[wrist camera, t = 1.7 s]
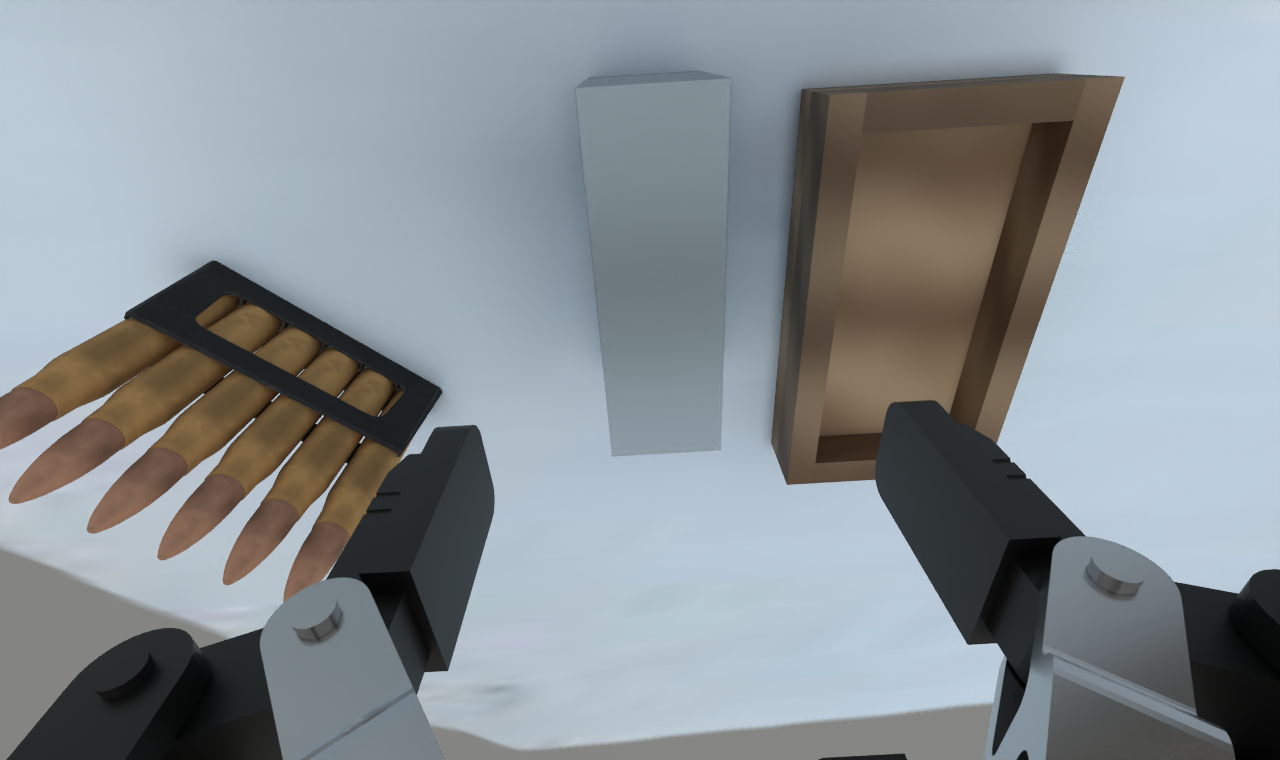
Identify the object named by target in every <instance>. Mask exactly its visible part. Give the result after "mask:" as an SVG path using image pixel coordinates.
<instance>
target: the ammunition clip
mask: <svg viewBox="0 0 1280 760" xmlns="http://www.w3.org/2000/svg"><path fill="white" fill-rule="evenodd" d="M124 319H126V320H124V321H122V322H120V323H118V324H117V325H115V326H113V327H111V328H109V329H107V330H106V331H104V332H102V333H100V334H98V335H96V336H95V337H93V338H91V339H89V340H87V341H85V342H84V343H82V344H80V345H78V346H76V347H74V348H73V349H71V350H69V351H67V352H65V353H63V354H62V355H60V356H58V357H56V358H55V359H53V360H52V361H51V362H50V363H48V364H47V365H46V366H45V367H44V368H43V369H42V370H40V371H39V372H38V373H37V374H36V375H35V376H33V377H31V378H30V379H28V380H27V381H25V382H23V383H22V384H20V385H18V386H17V387H15V388H13V389H12V391H11V392H9V393H7V394H6V395H4V396H2V397H0V449H3V448H5V447H7V446H9V445H11V444H13V443H15V442H17V441H19V440H21V439H23V438H25V437H27V436H29V435H30V434H32V433H34V432H35V431H37V430H39V429H40V428H42V427H44V426H45V425H47V424H48V423H50V422H52V421H55V420H57V419H59V418H60V417H62V416H64V415H66V414H67V413H69V412H71V411H72V410H74V409H76V408H78V407H80V406H82V405H85V404H87V403H90V402H92V401H95V400H97V399H99V398H102V397H104V396H105V395H107V394H109V393H111V392H112V391H114V390H115V389H117V388H118V387H120V386H121V385H123V384H124V383H126V382H127V381H129V380H130V381H129V382H127V383H126V384H124V385H123V386H121V387H120V388H119V389H117V390H116V391H115V392H114V393H113V395H112V396H111V397H110V398H109V399H108V400H107V401H106V402H105V403H104V404H103V406H101V407H100V408H99V409H97V410H96V411H95V412H93V413H92V414H91V415H89V416H88V417H87V418H85V419H84V420H83V421H82V422H81V423H80V424H79V425H78V426H76V427H75V428H73V429H72V430H70V431H69V432H68V433H66V434H65V435H63V436H62V437H61V438H60V439H58V440H57V441H56V442H55V443H54V444H52V445H51V446H50V447H49V448H48V449H47V450H46V451H44V452H43V453H42V454H41V455H40V456H39V457H38V458H37V459H36V460H35V461H34V462H33V463H32V464H31V465H30V467H29V468H28V469H27V470H26V471H25V472H24V474H23V475H22V476H21V477H20V478H19V480H18V481H17V483H16V484H15V486H14V487H13V489H12V491H11V493H10V496H9V502H10V503H12V504H18V503H23V502H26V501H29V500H33V499H35V498H38V497H41V496H43V495H46V494H48V493H50V492H52V491H54V490H57V489H59V488H61V487H63V486H65V485H67V484H69V483H71V482H73V481H74V480H76V479H78V478H80V477H81V476H83V475H85V474H86V473H88V472H89V471H91V470H93V469H94V468H96V467H97V466H99V465H100V464H102V463H103V462H105V461H106V460H107V459H109V458H110V457H111V456H113V455H114V454H115V453H116V452H118V451H119V450H121V449H123V448H125V447H126V446H128V445H129V444H131V443H132V442H133V441H135V440H136V439H138V438H139V437H140V436H142V435H143V434H145V433H147V432H149V431H151V430H153V429H155V428H157V427H159V426H161V425H163V424H165V423H166V422H167V421H169V420H170V419H171V418H173V417H174V416H175V415H176V414H178V413H179V412H180V411H181V410H183V409H184V408H185V407H186V406H188V405H189V404H190V403H191V402H193V401H194V400H195V399H196V398H198V397H199V396H200V395H202V394H203V393H204V394H205V395H203V396H202V397H201V398H200V399H199V400H197V401H196V402H195V403H194V404H193V405H191V406H190V407H189V408H188V409H187V410H185V411H184V412H183V413H182V414H181V415H180V416H179V417H177V419H176V420H175V421H174V422H173V424H172V425H171V426H170V427H169V429H168V430H167V431H166V433H165V434H164V435H163V436H162V437H161V438H160V439H159V440H158V441H157V442H156V443H155V444H154V445H153V446H151V447H150V448H149V449H148V450H147V452H146V453H145V454H144V455H143V456H142V457H141V458H139V459H138V460H137V461H136V462H135V463H134V464H133V465H131V466H130V467H129V468H128V469H127V470H126V471H125V472H124V474H123V475H122V476H121V477H120V478H119V479H118V480H117V481H116V482H115V483H114V484H113V486H112V487H111V488H110V489H109V490H108V492H107V493H106V494H105V496H104V497H103V498H102V500H101V501H100V503H99V504H98V506H97V507H96V509H95V510H94V512H93V514H92V516H91V518H90V520H89V523H88V526H87V531H88V532H89V533H98V532H101V531H103V530H106V529H108V528H111V527H113V526H115V525H117V524H119V523H121V522H123V521H125V520H126V519H128V518H130V517H132V516H133V515H135V514H136V513H138V512H140V511H141V510H143V509H144V508H146V507H147V506H149V505H150V504H151V503H153V502H154V501H155V500H156V499H158V498H159V497H160V496H162V495H163V494H164V493H165V492H167V491H168V490H169V489H170V488H171V487H172V486H173V485H174V484H175V483H177V482H178V481H179V480H180V479H181V478H182V477H183V476H185V475H187V474H188V473H189V472H190V471H191V470H192V469H194V468H195V467H196V466H197V465H198V464H199V463H201V462H202V461H203V460H205V459H206V458H208V457H210V456H211V455H213V454H215V453H216V452H218V451H219V450H221V449H222V448H223V447H224V446H225V445H226V444H227V443H228V442H229V441H230V440H231V439H232V438H233V437H234V436H235V435H236V434H237V433H238V432H240V431H241V430H242V429H243V428H244V427H245V426H246V425H247V424H248V423H249V422H250V421H251V420H252V419H253V418H255V420H254V421H253V422H252V423H251V424H250V425H249V426H248V427H247V428H246V429H245V430H244V431H243V432H242V433H241V434H240V435H239V436H238V437H237V438H236V440H235V441H234V442H233V443H232V444H231V445H230V446H229V447H228V449H227V450H226V452H225V454H224V455H223V457H222V459H221V460H220V462H219V464H218V465H217V466H216V467H215V468H214V469H213V471H212V472H211V473H210V474H209V475H208V476H207V477H206V478H205V481H204V482H203V483H202V484H201V485H200V486H199V487H198V488H197V489H196V491H195V492H194V493H193V494H192V495H191V496H190V497H189V498H188V500H187V501H186V502H185V503H184V505H183V506H182V507H181V509H180V510H179V511H178V513H177V514H176V515H175V517H174V518H173V520H172V522H171V523H170V525H169V527H168V529H167V531H166V532H165V534H164V536H163V538H162V541H161V543H160V547H159V550H158V559H160V560H166V559H169V558H171V557H173V556H175V555H177V554H179V553H181V552H183V551H184V550H186V549H188V548H189V547H190V546H192V545H193V544H195V543H196V542H198V541H199V540H200V539H202V538H203V537H204V536H205V535H207V534H208V533H209V532H210V531H211V530H212V529H214V528H215V527H216V526H217V525H218V524H219V523H220V522H221V521H222V520H223V519H224V518H225V517H226V516H227V515H228V514H229V513H230V512H231V511H232V510H233V509H234V508H235V507H236V505H237V504H238V503H239V502H240V501H241V500H243V499H244V498H245V497H246V496H247V495H248V494H249V493H250V492H251V490H252V489H253V488H254V487H255V486H256V485H257V484H259V483H260V482H261V481H263V480H264V479H265V478H267V477H268V476H269V475H271V474H272V473H273V472H274V471H275V470H276V469H277V468H278V467H279V466H280V464H281V463H282V462H283V461H284V460H285V458H286V457H287V456H288V455H289V454H290V453H291V451H292V450H293V449H294V448H295V447H296V446H297V444H298V443H299V442H300V441H302V442H303V443H302V444H301V445H300V447H299V448H298V449H297V450H296V451H295V453H294V454H293V455H292V456H291V458H290V459H289V460H288V461H287V463H286V464H285V465H284V466H283V468H282V469H281V470H280V472H279V474H278V476H277V478H276V480H275V482H274V485H273V487H272V488H271V490H270V491H269V493H268V494H267V495H266V497H265V498H264V500H263V501H262V502H261V505H260V507H259V508H258V509H257V510H256V512H255V513H254V514H253V516H252V517H251V518H250V520H249V521H248V522H247V524H246V525H245V527H244V529H243V530H242V532H241V534H240V535H239V537H238V538H237V540H236V542H235V544H234V546H233V548H232V550H231V553H230V555H229V558H228V560H227V563H226V566H225V570H224V575H223V583H224V584H225V585H230V584H233V583H235V582H236V581H238V580H240V579H241V578H243V577H244V576H246V575H247V574H248V573H250V572H251V571H252V570H253V569H254V568H255V567H257V566H258V565H259V564H260V563H261V562H262V561H263V560H264V559H265V558H266V557H267V556H268V555H269V554H270V553H271V552H272V551H273V550H274V549H275V548H276V547H277V546H278V545H279V544H280V542H281V541H282V540H283V539H284V538H285V537H286V535H287V534H288V533H289V531H290V530H291V528H292V527H293V526H294V524H295V523H296V522H297V521H298V520H299V519H300V518H301V517H302V515H303V514H304V513H305V511H306V510H307V509H308V508H309V506H310V505H311V504H312V503H313V502H314V501H315V500H317V499H318V498H319V497H320V496H321V495H322V494H323V493H324V492H325V491H326V489H327V488H328V487H329V485H330V484H331V482H332V481H333V480H334V478H335V477H336V475H337V474H338V472H339V471H340V469H341V468H342V466H343V465H344V464H345V463H348V464H347V466H346V467H345V469H344V470H343V472H342V473H341V475H340V476H339V478H338V479H337V481H336V482H335V484H334V485H333V487H332V488H331V490H330V492H329V493H328V496H327V498H326V501H325V504H324V507H323V510H322V512H321V513H320V515H319V517H318V519H317V520H316V522H315V524H314V525H313V528H312V530H311V532H310V534H309V535H308V537H307V538H306V540H305V542H304V543H303V545H302V547H301V549H300V551H299V553H298V555H297V557H296V559H295V561H294V563H293V566H292V568H291V571H290V574H289V577H288V580H287V584H286V587H285V592H284V601H283V602H285V601H287V600H288V599H289V598H290V597H292V596H293V595H295V594H296V593H298V592H299V591H301V590H303V589H305V588H306V587H308V586H311V585H313V584H315V583H318V582H320V581H321V580H322V579H323V578H324V577H325V575H326V574H327V573H328V571H329V570H330V569H331V567H332V566H333V565H334V563H335V562H336V560H337V559H338V557H339V556H340V554H341V552H342V551H343V549H344V547H345V546H346V544H347V543H348V541H349V539H350V537H351V536H352V534H353V532H354V531H355V529H356V527H357V525H358V524H359V522H360V520H361V518H362V517H363V515H366V513H367V512H366V510H367V508H368V506H369V505H370V503H371V501H372V499H373V498H374V497H376V492H377V491H378V489H379V487H380V486H381V484H382V482H383V480H384V479H385V477H386V475H387V473H388V472H389V471H390V470H392V469H393V468H394V467H395V466H396V465H397V464H398V463H399V462H400V460H401V458H402V456H403V455H404V453H405V451H406V449H407V448H408V446H409V444H410V442H411V440H412V439H413V437H414V435H415V434H416V432H417V431H418V429H419V427H420V426H421V424H422V423H423V421H424V420H425V418H426V417H427V415H428V414H429V412H430V411H431V409H432V408H433V406H434V405H435V403H436V401H437V400H438V398H439V397H440V395H441V394H442V391H441V389H440V388H439V387H438V386H436V385H434V384H432V383H430V382H429V381H427V380H425V379H423V378H422V377H420V376H418V375H416V374H415V373H413V372H411V371H409V370H408V369H406V368H404V367H402V366H401V365H399V364H397V363H395V362H393V361H392V360H390V359H388V358H386V357H385V356H383V355H381V354H379V353H378V352H376V351H374V350H372V349H371V348H369V347H367V346H365V345H363V344H362V343H360V342H358V341H356V340H355V339H353V338H351V337H349V336H348V335H346V334H344V333H342V332H341V331H339V330H337V329H335V328H333V327H332V326H330V325H328V324H326V323H325V322H323V321H321V320H319V319H318V318H316V317H314V316H312V315H311V314H309V313H307V312H305V311H303V310H302V309H300V308H298V307H296V306H295V305H293V304H291V303H289V302H288V301H286V300H284V299H282V298H281V297H279V296H277V295H275V294H273V293H272V292H270V291H268V290H266V289H265V288H263V287H261V286H259V285H258V284H256V283H254V282H252V281H251V280H249V279H247V278H245V277H243V276H242V275H240V274H238V273H236V272H235V271H233V270H231V269H229V268H228V267H226V266H224V265H222V264H221V263H219V262H217V261H211V262H209V263H207V264H206V265H204V266H202V267H201V268H199V269H197V270H196V271H194V272H192V273H191V274H189V275H187V276H186V277H184V278H182V279H181V280H179V281H177V282H176V283H174V284H172V285H171V286H169V287H167V288H165V289H164V290H162V291H160V292H159V293H157V294H155V295H154V296H152V297H150V298H149V299H147V300H145V301H144V302H142V303H140V304H139V305H137V306H135V307H134V308H132V309H130V310H129V311H127V312H126V313H125V316H124ZM261 347H262V348H261ZM259 348H260V349H259ZM258 349H259V350H258ZM257 350H258V351H257ZM256 351H257V352H256ZM254 352H255V353H254ZM253 353H254V354H253ZM147 368H148V369H147ZM303 369H305V370H304V371H303V372H302V373H301V374H300V375H299V376H298V377H296V376H297V375H298V374H299V373H300V372H301V371H302V370H303ZM144 370H145V371H144ZM232 370H234V371H232ZM230 371H232V372H231V373H230V374H229V375H228V376H226V377H225V378H223V377H224V376H225V375H227V374H228V373H229V372H230ZM141 372H142V373H141ZM138 374H139V375H138ZM137 375H138V376H137ZM135 376H136V377H135ZM134 377H135V378H134ZM132 378H133V379H132ZM131 379H132V380H131ZM343 390H345V391H344V392H343V394H342V395H341V396H340V397H339V398H337V397H338V396H339V395H340V394H341V392H342V391H343ZM279 393H280V395H279V396H278V397H277V398H276V399H275V400H274V401H273V402H271V400H272V399H274V398H275V397H276V396H277V395H278V394H279ZM381 410H382V413H381V414H380V416H378V414H379V413H380V412H381ZM322 415H324V417H323V418H322V419H321V421H320V422H319V423H318V424H315V423H316V422H317V421H318V420H319V418H320V417H321V416H322ZM377 416H378V417H377ZM363 436H365V438H364V440H363V441H362V443H361V444H360V443H359V442H360V440H361V439H362V438H363Z"/></svg>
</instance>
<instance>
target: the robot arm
mask: <svg viewBox="0 0 1280 760" xmlns="http://www.w3.org/2000/svg"><path fill="white" fill-rule="evenodd" d="M875 479H876V484H877V488H878V492H879V494H880V496H881V498H882V500H883V502H884V503H885V505H886V507H887V508H888V510H889V512H890V513H891V515H892V517H893V519H894V520H895V522H896V524H897V525H898V527H899V529H900V530H901V532H902V534H903V536H904V537H905V539H906V541H907V542H908V544H909V546H910V547H911V549H912V551H913V553H914V554H915V556H916V558H917V559H918V561H919V563H920V564H921V566H922V568H923V570H924V571H925V573H926V575H927V576H928V578H929V580H930V581H931V583H932V585H933V586H934V588H935V590H936V592H937V593H938V595H939V597H940V598H941V600H942V602H943V603H944V605H945V607H946V609H947V610H948V612H949V614H950V615H951V617H952V619H953V620H954V622H955V624H956V626H957V627H958V629H959V631H960V632H961V634H962V636H963V637H964V639H965V641H966V643H967V644H968V645H972V644H990V643H997V644H998V645H999V647H1000V648H1001V650H1002V652H1003V653H1004V655H1005V656H1004V658H1003V661H1002V663H1001V665H1000V669H999V674H998V680H997V686H996V691H995V697H994V703H993V709H992V715H991V721H990V726H989V733H988V738H987V744H986V749H985V755H984V760H1280V570H1277V569H1272V570H1263V571H1260V572H1257V573H1256V574H1254V575H1253V576H1252V577H1251V578H1250V580H1249V581H1248V582H1247V584H1246V585H1245V587H1244V588H1243V589H1242V591H1241V592H1240V593H1239V594H1237V593H1232V592H1226V591H1221V590H1215V589H1210V588H1204V587H1199V586H1194V585H1188V584H1183V583H1177V582H1174V581H1173V580H1172V579H1171V577H1170V576H1169V575H1168V574H1167V573H1166V572H1165V571H1164V570H1163V569H1161V568H1160V567H1159V566H1158V565H1156V564H1155V563H1154V562H1152V561H1151V560H1149V559H1148V558H1146V557H1145V556H1143V555H1141V554H1139V553H1138V552H1136V551H1134V550H1132V549H1130V548H1127V547H1125V546H1123V545H1120V544H1117V543H1115V542H1112V541H1108V540H1104V539H1100V538H1095V537H1086V536H1085V535H1084V534H1083V533H1082V532H1081V531H1080V530H1079V529H1078V528H1077V527H1076V526H1075V525H1074V524H1073V523H1072V521H1071V520H1070V519H1069V518H1068V517H1067V516H1066V515H1065V514H1064V513H1063V512H1062V511H1061V510H1060V509H1059V508H1058V507H1057V506H1056V505H1055V504H1054V503H1053V502H1052V501H1051V500H1050V499H1049V498H1048V497H1047V496H1046V495H1045V494H1044V493H1043V492H1042V491H1041V490H1040V489H1039V488H1038V487H1037V485H1036V484H1035V483H1034V482H1033V481H1032V480H1031V479H1026V474H1025V473H1024V472H1023V471H1022V470H1021V469H1020V468H1019V467H1018V466H1017V465H1016V464H1015V463H1014V462H1013V463H1011V461H1010V458H1009V457H1008V456H1007V455H1006V454H1005V453H1004V452H1003V451H1002V450H1001V448H1000V447H999V446H998V445H997V444H996V443H995V442H994V441H993V440H992V439H990V438H988V437H987V436H985V435H983V434H981V433H980V432H978V431H976V430H975V429H973V428H971V427H969V426H968V425H966V424H958V423H957V422H956V421H955V420H954V419H953V418H952V417H951V416H950V415H949V414H948V413H947V411H946V410H945V409H944V408H943V407H942V406H941V405H940V404H939V403H938V402H937V401H935V400H922V401H905V402H893V403H891V404H890V405H889V407H888V409H887V412H886V416H885V421H884V426H883V431H882V435H881V440H880V445H879V450H878V455H877V460H876V465H875ZM366 512H367V513H366V515H363V517H362V518H361V520H360V522H359V524H358V525H357V527H356V529H355V531H354V532H353V534H352V536H351V537H350V539H349V541H348V543H347V544H346V546H345V548H344V550H343V551H342V553H341V555H340V556H339V558H338V560H337V562H336V563H335V565H334V567H333V569H332V570H331V572H330V574H329V576H328V577H327V579H326V580H324V581H321V582H318V583H315V584H313V585H311V586H308V587H306V588H305V589H303V590H301V591H299V592H298V593H296V594H295V595H293V596H292V597H290V598H289V599H288V600H287V601H285V602H284V603H283V604H282V605H281V606H280V607H279V608H278V609H277V610H276V611H275V612H274V613H273V615H272V616H271V617H270V618H269V620H268V621H267V623H266V625H265V626H264V628H262V629H259V630H256V631H253V632H250V633H247V634H244V635H240V636H237V637H234V638H231V639H228V640H225V641H221V642H218V643H215V644H212V645H209V646H206V647H202V648H199V647H198V645H197V644H196V643H195V641H194V640H193V639H192V637H191V636H190V635H189V634H188V633H187V632H186V631H183V630H181V629H175V628H163V629H157V630H152V631H149V632H145V633H142V634H140V635H137V636H135V637H132V638H130V639H128V640H126V641H124V642H122V643H120V644H118V645H117V646H115V647H113V648H112V649H110V650H108V651H107V652H105V653H104V654H102V655H101V656H99V657H98V658H97V659H96V660H94V661H93V662H92V663H90V664H89V665H88V666H87V667H86V668H85V669H84V670H83V671H82V672H80V673H79V674H78V675H77V677H76V678H75V679H74V680H73V681H72V682H71V683H70V684H69V686H68V687H67V688H66V689H65V690H64V691H63V693H62V694H61V695H60V696H59V697H58V699H57V700H56V701H55V702H54V704H53V705H52V706H51V707H50V708H49V709H48V711H47V712H46V713H45V714H44V715H43V717H42V718H41V719H40V720H39V721H38V723H37V724H36V725H35V726H34V728H33V729H32V730H31V731H30V732H29V734H28V735H27V736H26V737H25V738H24V740H23V741H22V742H21V743H20V744H19V745H18V747H17V748H16V749H15V750H14V752H13V753H12V754H11V755H10V756H9V757H8V759H7V760H445V758H444V755H443V753H442V751H441V749H440V746H439V744H438V742H437V740H436V738H435V735H434V733H433V731H432V728H431V726H430V724H429V722H428V720H427V717H426V715H425V713H424V711H423V708H422V706H421V704H420V702H419V699H418V697H417V693H418V690H419V686H420V683H421V680H422V677H423V674H424V672H436V671H448V669H449V666H450V662H451V659H452V655H453V652H454V649H455V645H456V642H457V638H458V635H459V631H460V628H461V625H462V621H463V618H464V614H465V611H466V607H467V604H468V600H469V597H470V594H471V590H472V587H473V583H474V580H475V576H476V573H477V569H478V566H479V563H480V559H481V556H482V552H483V549H484V545H485V542H486V539H487V535H488V532H489V528H490V525H491V521H492V518H493V513H494V488H493V483H492V479H491V474H490V470H489V466H488V462H487V458H486V454H485V450H484V446H483V442H482V438H481V434H480V431H479V429H478V427H477V426H476V425H467V426H449V427H437V428H435V429H434V430H433V432H432V434H431V435H430V437H429V439H428V441H427V443H426V445H425V447H424V449H423V451H422V453H421V454H409V455H408V456H407V457H405V458H404V459H403V460H402V461H401V462H400V463H398V464H397V465H396V466H395V467H394V468H393V469H392V470H390V471H389V472H388V473H387V475H386V477H385V479H384V480H383V482H382V484H381V486H380V487H379V489H378V491H377V492H376V497H374V498H373V499H372V501H371V503H370V505H369V506H368V508H367V510H366ZM819 760H907V759H906V756H905V754H889V755H870V756H851V757H833V758H822V759H819Z"/></svg>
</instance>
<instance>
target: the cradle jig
mask: <svg viewBox="0 0 1280 760" xmlns="http://www.w3.org/2000/svg"><path fill="white" fill-rule="evenodd" d="M1124 78H1125V77H1118V76H1097V75H1076V74H1042V75H1026V76H1010V77H994V78H978V79H962V80H945V81H929V82H913V83H897V84H881V85H865V86H849V87H832V88H816V89H802V95H801V107H800V118H799V130H798V142H797V153H796V165H795V176H794V188H793V199H792V211H791V222H790V234H789V246H788V257H787V269H786V280H785V292H784V303H783V315H782V327H781V338H780V350H779V361H778V373H777V384H776V396H775V407H774V419H773V431H772V442H771V444H772V446H773V449H774V452H775V454H776V457H777V459H778V462H779V465H780V467H781V470H782V473H783V475H784V478H785V481H786V483H787V485H790V484H807V483H824V482H841V481H859V480H876V479H875V465H876V460H877V455H878V450H879V445H880V440H881V435H882V431H883V426H884V421H885V416H886V412H887V409H888V407H889V405H890V404H891V403H893V402H905V401H922V400H935V401H937V402H938V403H939V404H940V405H941V406H942V407H943V408H944V409H945V410H946V411H947V413H948V414H949V415H950V416H951V417H952V418H953V419H954V420H955V421H956V422H957V423H958V424H966V425H968V426H969V427H971V428H973V429H975V430H976V431H978V432H980V433H981V434H983V435H985V436H987V437H988V438H990V439H992V440H993V441H994V442H995V443H996V444H997V441H998V438H999V435H1000V432H1001V429H1002V426H1003V424H1004V421H1005V418H1006V415H1007V412H1008V409H1009V406H1010V404H1011V401H1012V398H1013V395H1014V392H1015V389H1016V386H1017V384H1018V381H1019V378H1020V375H1021V372H1022V369H1023V366H1024V364H1025V361H1026V358H1027V355H1028V352H1029V349H1030V346H1031V344H1032V341H1033V338H1034V335H1035V332H1036V329H1037V326H1038V324H1039V321H1040V318H1041V315H1042V312H1043V309H1044V306H1045V304H1046V301H1047V298H1048V295H1049V292H1050V289H1051V286H1052V284H1053V281H1054V278H1055V275H1056V272H1057V269H1058V266H1059V263H1060V261H1061V258H1062V255H1063V252H1064V249H1065V246H1066V243H1067V241H1068V238H1069V235H1070V232H1071V229H1072V226H1073V223H1074V221H1075V218H1076V215H1077V212H1078V209H1079V206H1080V203H1081V201H1082V198H1083V195H1084V192H1085V189H1086V186H1087V183H1088V181H1089V178H1090V175H1091V172H1092V169H1093V166H1094V163H1095V161H1096V158H1097V155H1098V152H1099V149H1100V146H1101V143H1102V141H1103V138H1104V135H1105V132H1106V129H1107V126H1108V123H1109V121H1110V118H1111V115H1112V112H1113V109H1114V106H1115V103H1116V100H1117V98H1118V95H1119V92H1120V89H1121V86H1122V83H1123V80H1124Z"/></svg>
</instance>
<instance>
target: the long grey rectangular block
mask: <svg viewBox="0 0 1280 760" xmlns="http://www.w3.org/2000/svg"><path fill="white" fill-rule="evenodd" d="M730 93H731V78H727V77H723V76H719V75H714V74H710V73H706V72H702V71H691V72H675V73H658V74H642V75H626V76H610V77H594V78H588V79H587V80H586V81H584V82H583V83H581V84H580V85H578V86H577V87H576V88H575V94H576V104H577V114H578V124H579V134H580V144H581V154H582V163H583V173H584V183H585V193H586V203H587V213H588V223H589V233H590V242H591V252H592V262H593V272H594V282H595V292H596V302H597V312H598V322H599V331H600V341H601V351H602V361H603V371H604V381H605V391H606V401H607V411H608V420H609V430H610V440H611V450H612V456H627V455H645V454H662V453H679V452H696V451H714V450H721V422H722V385H723V349H724V312H725V276H726V239H727V203H728V166H729V130H730Z"/></svg>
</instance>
